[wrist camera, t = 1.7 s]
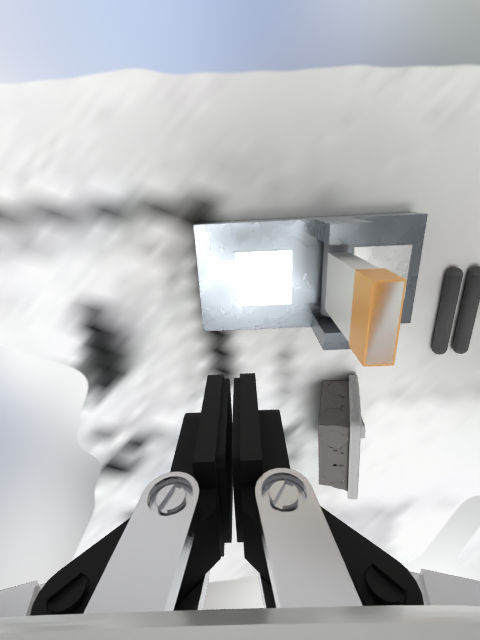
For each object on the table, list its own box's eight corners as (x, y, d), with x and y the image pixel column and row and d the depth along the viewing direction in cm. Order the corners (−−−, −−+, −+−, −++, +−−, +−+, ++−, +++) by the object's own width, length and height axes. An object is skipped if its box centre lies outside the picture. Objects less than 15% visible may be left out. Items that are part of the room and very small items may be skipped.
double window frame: (410, 212, 30) (465, 217, 22) (396, 312, 33) (440, 345, 26) (198, 222, 30) (183, 230, 23) (206, 319, 34) (196, 354, 27)
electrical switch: (353, 436, 40) (375, 503, 31) (311, 436, 40) (321, 502, 32) (356, 370, 36) (381, 425, 28) (310, 372, 37) (320, 426, 28)
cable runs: (480, 264, 32) (491, 267, 30) (461, 349, 35) (469, 355, 34) (444, 266, 32) (452, 269, 30) (428, 350, 35) (435, 357, 34)
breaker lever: (344, 241, 27) (409, 270, 17) (339, 309, 30) (394, 372, 19) (321, 242, 28) (371, 271, 17) (318, 309, 30) (360, 373, 19)
